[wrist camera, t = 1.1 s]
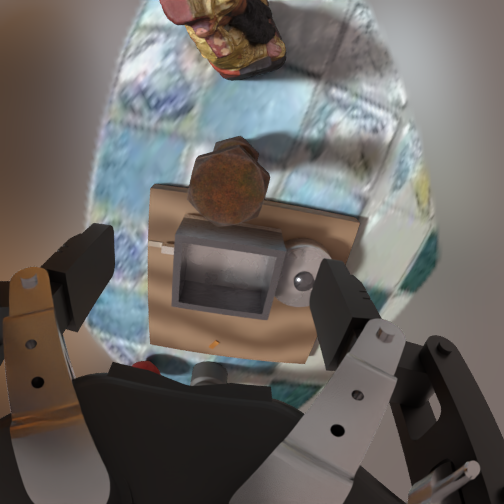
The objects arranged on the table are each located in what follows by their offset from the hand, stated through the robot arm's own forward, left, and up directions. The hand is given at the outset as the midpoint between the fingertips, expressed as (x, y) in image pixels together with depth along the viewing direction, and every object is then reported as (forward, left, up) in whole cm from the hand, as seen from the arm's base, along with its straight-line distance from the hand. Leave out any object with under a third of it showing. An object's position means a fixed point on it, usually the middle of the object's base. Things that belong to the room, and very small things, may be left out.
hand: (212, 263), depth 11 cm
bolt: (0, 0, -25) cm, 25 cm away
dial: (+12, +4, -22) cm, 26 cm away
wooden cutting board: (+17, +4, -24) cm, 30 cm away
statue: (-14, -2, -25) cm, 28 cm away
